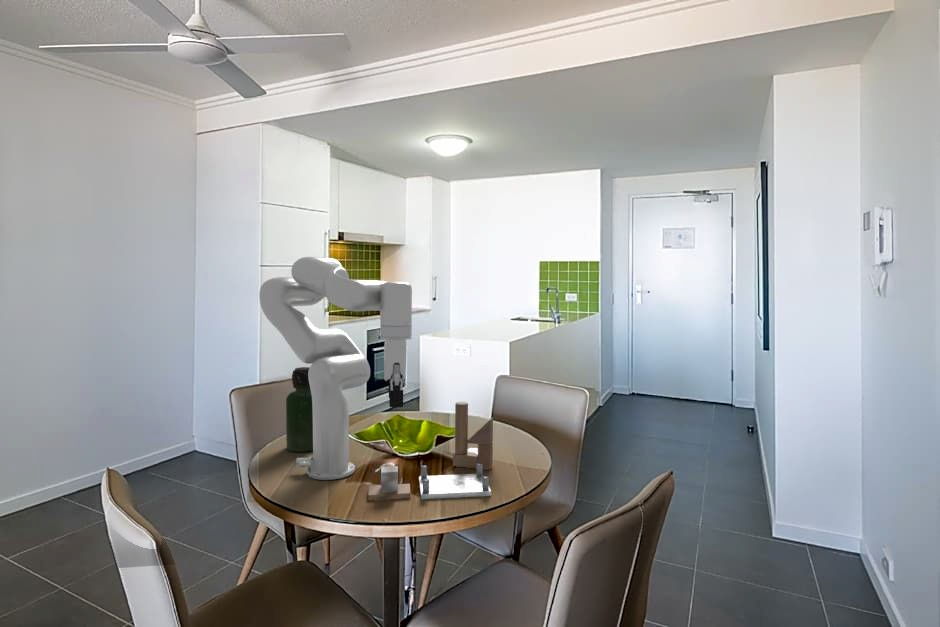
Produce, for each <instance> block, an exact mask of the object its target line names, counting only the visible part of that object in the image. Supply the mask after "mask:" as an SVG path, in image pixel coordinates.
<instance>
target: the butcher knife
mask: <svg viewBox="0 0 940 627" xmlns="http://www.w3.org/2000/svg"><path fill="white" fill-rule="evenodd" d="M468 452H474V453H476V454H478V447H468Z"/></svg>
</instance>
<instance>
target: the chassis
mask: <svg viewBox="0 0 940 627" xmlns="http://www.w3.org/2000/svg"><path fill="white" fill-rule="evenodd" d="M475 470H476V473H468V474H467V473H466V474H445V475H444V474H442V475H439V474H438V475H428V466H427V465H421V466H420V476H419V477H418V481H419V482H418V483H419V491H420V499H421V500H431V499H432V500H433V499H434V500H435V499H455V498H456V499H457V498H458V499H459V498H477V497H492V490H491V488H490V483H489V482H490V477H489V476H487V475H484V473H483V472H484V470H483V464H482V463H477V468H476V469H475Z"/></svg>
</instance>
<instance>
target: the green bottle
mask: <svg viewBox="0 0 940 627" xmlns="http://www.w3.org/2000/svg"><path fill="white" fill-rule="evenodd" d="M309 368H310V367H309V366H308V367H307V366H304V367H295V368H294V370H292V374H291V381H292V382H291V383H292V387H293V388H294V389H295V390H293V391H291V392H290V393H289V394H288V395H287V396H286V399H285V408H286V409H285V410H286V412H285V414H286V415H285V416H286V417H285V418H286V419H285V420H286V424H285V426H286V449H287V450H288V451H290V452H294V453H306V452H313V411H312V395H311V389H310V384H309V379H308V371H309Z"/></svg>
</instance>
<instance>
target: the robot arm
mask: <svg viewBox="0 0 940 627" xmlns="http://www.w3.org/2000/svg"><path fill="white" fill-rule="evenodd" d="M258 295H259V304H260V307H261V310H262V313H263V315H264V316H265V318H266V319H267V320H268V321H269V322H270V324H271V325H272V326H273V327H274V328H275V329H276V330H277V331H278V332H279V333H280V334H281V336H282V337H283V338H284V340H285V342H286V343H287V344H288V345H289V347H290V349H291V350H292V351H293V353H294V354H295V356H296V357H297V358H298V359H299V360H300V361H301V362H302V363H304V364H308V365H310V364H311V365H310V368H309V371H308V379H309V384H310V389H311V395H312V411H313V451H312V455H311V456H308V457H297V458H296V462H295V463H296V466H299V468H306V467H307V470H306V474H307V476H308V477H309V478H310V479H313V480H319V481H331V480H339V479H344V478H347V477H348V476H351V475H353V473H355V470H356V466H355V464H354V463H353V462H350V414H349V413H350V410H349V403H348V400H347V398H346V397H345V395H344V394H343V391H345V390H349V389H354V388H355V389H356V388H359V387H361V386H363V385H365V384H366V383H367V382H368V381H369V379H370V377H371V367H370V364H369V361H368V359H367V358H366V357H365V354H363V352H362V351H361V350H360V349H359V348H358V346H357V345H356V344H355V342H354V341H353V340H352V339H351V338H350V336H349V335H348V334H347V333H346V332H345V331H343V330H342V329H339V328H335V327H333V328H332V327H331V328H320V327H316V326H315V325H314V324H313V323H312V322H311V320H310V319H309V318H308V316H306V315H305V314H304V313H303V312H302V311H300V310H298V309H297V308H295V307H307V306H310V307H311V306H314V305H316V304H319V302H321V301H323V299H324V298H326V300H327V301H328V302H329V303H330V304H331V305H334V306H336V307H339V308H342V309H344V310H347V311H350V312H369V311H376V312H377V311H380V322H379V324H380V327H379V328H380V333H379V334H380V335H379V336H380V339H381V340H384V347H383V348H384V349H383V379H384V381H385V382H388V380H389V382H388V398H389V400H388V402H389V403H388V404H389V405H388V406H389V407H390V408H403V406H404V390H403V381H405V379H406V372H407V371H406V370H407V369H406V368H407V345H408V344H407V343H408V342H407V341H408V340H411V339H413V338H412V335H413V334H412V330H413V328H412V327H413V326H412V325H413V324H412V321H413V319H412V317H413V315H412V314H413V313H412V310H413V308H412V306H413V300H412V299H413V288H412V285H411V283H409V282H407V281H386V280H373V279H371V280H367V279H365V280H363V279H361V280H359V279H357V280H356V279H355V280H354V279H351V278H350V276H349V272H347V270H346V269H345V268H344V266H343V265H342V264H341V263H340V262H339V261H338V260H337V259H335V258H332V257H320V256H304V257H301V258H299V259H297V260H296V261H294V263H292V267H291V277H290V276H279V277H274V278H270V279H267V280H266V281H264V282H263V283H262V284H261V286H260V289H259V294H258Z"/></svg>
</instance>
